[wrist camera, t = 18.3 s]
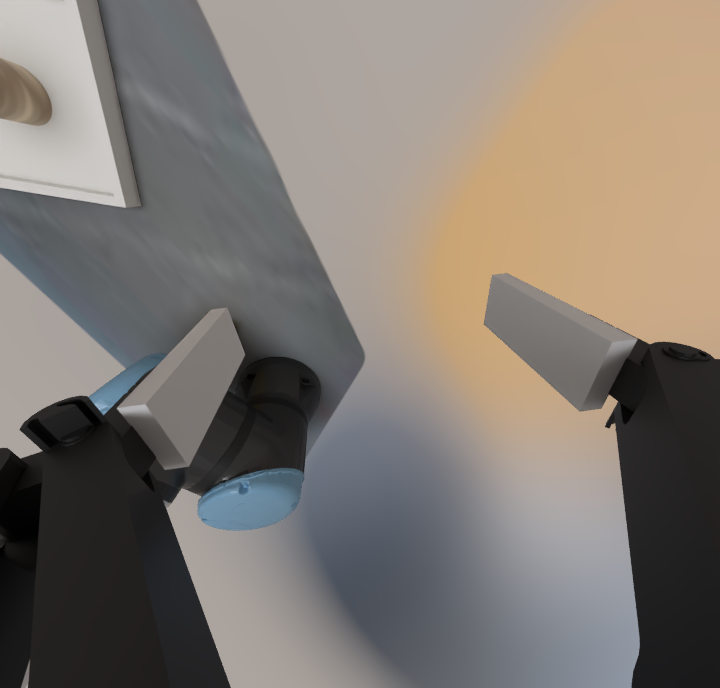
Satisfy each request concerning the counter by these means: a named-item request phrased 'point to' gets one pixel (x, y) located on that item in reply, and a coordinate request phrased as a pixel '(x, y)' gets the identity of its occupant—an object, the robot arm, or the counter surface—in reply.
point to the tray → (66, 106)
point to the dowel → (22, 96)
